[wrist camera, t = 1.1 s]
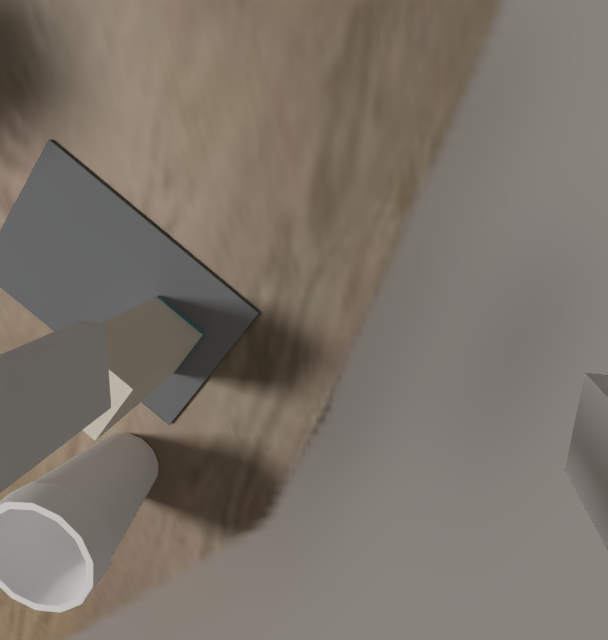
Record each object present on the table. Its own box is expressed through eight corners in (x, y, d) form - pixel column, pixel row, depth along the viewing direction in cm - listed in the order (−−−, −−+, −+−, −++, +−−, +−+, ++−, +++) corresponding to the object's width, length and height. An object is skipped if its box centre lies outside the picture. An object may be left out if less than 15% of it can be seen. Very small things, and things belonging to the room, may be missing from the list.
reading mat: (-18, 269, 46) (-21, 269, 46) (51, 139, 42) (48, 139, 41) (170, 423, 47) (169, 425, 46) (259, 312, 42) (258, 313, 42)
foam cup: (65, 453, 50) (-46, 543, 38) (121, 398, 47) (21, 477, 35) (133, 521, 51) (46, 631, 38) (193, 471, 48) (119, 574, 35)
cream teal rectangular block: (129, 337, 45) (35, 392, 33) (159, 295, 43) (70, 338, 32) (173, 373, 45) (95, 440, 34) (205, 333, 43) (133, 389, 32)
